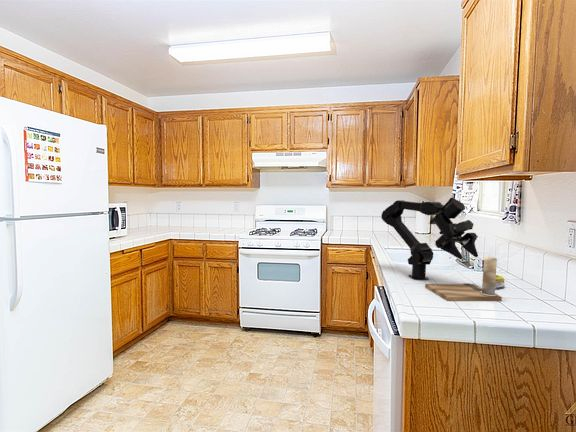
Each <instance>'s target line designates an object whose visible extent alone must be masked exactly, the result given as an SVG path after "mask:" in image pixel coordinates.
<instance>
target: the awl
mask: <svg viewBox="0 0 576 432" xmlns="http://www.w3.org/2000/svg"><path fill="white" fill-rule="evenodd" d="M497 261H498V259H497V258H496V257H490V256H484V257H483V270H482V287H481V288H482V293H483V294H486V295H495V293H496V288H495V281H496V275H497V264H498V262H497Z"/></svg>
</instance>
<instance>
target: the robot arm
mask: <svg viewBox="0 0 576 432" xmlns="http://www.w3.org/2000/svg"><path fill="white" fill-rule="evenodd" d="M404 210H406V211H415V212H419V213H421V214H423V215H425V216H434V217H430V220H429V225H436V227H437V228H438V229H439V232H438V233H439V235H440V236H439V237H438V238H437V239H436V240H435V241H434V245H435V247H436V248H437V249H440V250H442V251H445V252H446V253H448V254H450V255H452V256H454V257H455V258H457V259H459V260H462V259H463V256H462V253H461V252H460V250H459V249H458V247H457V246H456V243H459V244H460V245H461V246H462V248H463V249H464V250H466V252H468V253H469V254H470V255H472V256H473V257H475V258H478V257H479V254H478V250H477V247H476V244H475V243H476V241H477V239H478V235H477V233H476V232H467V231H469V230H473V227H474V222H472V221H471V220H470V219H466V220H463V221H460V222H458V223H454V222H453V221H452V220H451V219H453V220H454V219H456V218H457V217H458V216H459V215H461V214H462V212H464V210H466V206H465V204H464V203H462V202H461V201H460V200H458V199H456V198H455V197H450V198H449V199H448V200H447V202H446V203H445V204H442V202H440V201H425V202H424V201H423V202H417V201H407V200H396V201H394V202H393V203H392V204H391V205H389V206H388V207H385V209H384V210H383V211H382V212H381V220H382V222H384V223H385V224H386V225H387V226H390V227H392V228H393V229H394V230H395V232H396V233H397V234H398V235H399V237H400V238H401V239H402V240H403V242H404V243H405V244H406V245H407V247H409V249H410V250H409V251H410V255H411V256H410V257H408V259H407V263H408V265H411V267H412V268H411V274H408V277H409V278H411V279H413V280H427V281H428V280H429V278H428V277H427V276H426V272H427V266H428V265H429V266H430V264H431V262H432V261H433V258H434V252H433V248H431V247H430V246H429V244H428V243H427V242H420V241H419V240H418V239H417V237H416V236H415V235H414V234H413V233H412V231H410V229H409V228H408V227H407V226H406V225H405V223H404V222H403V218H402V215H403V214H404Z"/></svg>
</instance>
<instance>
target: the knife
mask: <svg viewBox="0 0 576 432" xmlns="http://www.w3.org/2000/svg"><path fill="white" fill-rule="evenodd" d="M504 282H505V278H504V277H503V276H501V275H499V274H496V281H495V289H496V288H503V287H505V283H504Z"/></svg>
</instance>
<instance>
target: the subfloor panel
mask: <svg viewBox="0 0 576 432" xmlns="http://www.w3.org/2000/svg"><path fill="white" fill-rule="evenodd" d="M424 285H425V287H426V288H425V287H424V288H425V289H427V290H429V291H431V292H432V293H434V294H435V295H436V296H439V297H440V298H442V299H444V300H445V301H447V302H502V301H503V299H502V298H503V297H502V296H501V295H499V294H497V293H496V292H495V295H486V294H483V293H482V287H481V286H478V285H476V284H474V283H425V284H424Z"/></svg>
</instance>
